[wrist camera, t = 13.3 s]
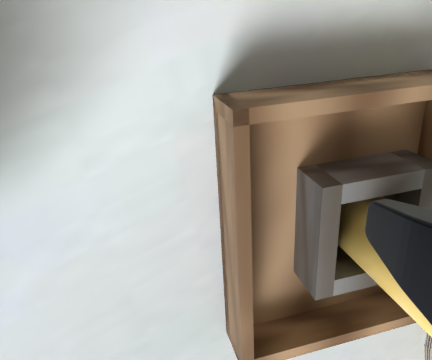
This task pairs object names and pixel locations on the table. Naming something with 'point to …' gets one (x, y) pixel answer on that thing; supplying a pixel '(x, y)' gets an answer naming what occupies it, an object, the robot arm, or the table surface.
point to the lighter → (428, 347)
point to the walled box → (313, 205)
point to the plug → (372, 257)
